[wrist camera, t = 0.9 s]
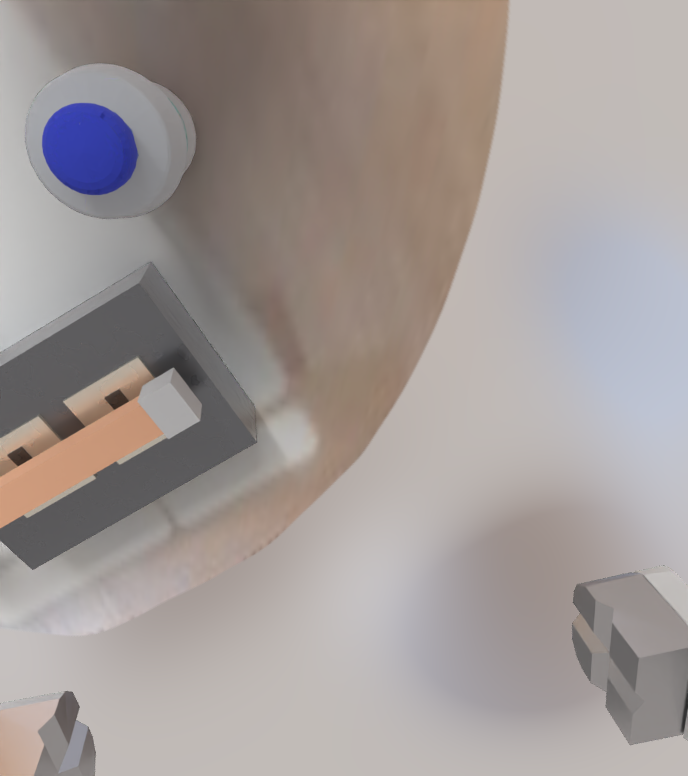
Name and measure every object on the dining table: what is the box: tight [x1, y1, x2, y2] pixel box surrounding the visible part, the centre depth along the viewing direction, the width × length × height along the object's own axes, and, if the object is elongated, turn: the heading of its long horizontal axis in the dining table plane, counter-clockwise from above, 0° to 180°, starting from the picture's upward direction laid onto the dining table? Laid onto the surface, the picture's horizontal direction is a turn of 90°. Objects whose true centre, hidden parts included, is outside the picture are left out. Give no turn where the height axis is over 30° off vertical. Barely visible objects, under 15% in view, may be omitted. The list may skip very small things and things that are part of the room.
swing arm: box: [0, 368, 202, 528], centre depth 40 cm, size 25×4×2 cm, turn 119°
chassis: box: [0, 262, 257, 570], centre depth 45 cm, size 14×20×6 cm
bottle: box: [25, 63, 196, 219], centre depth 32 cm, size 7×7×20 cm
